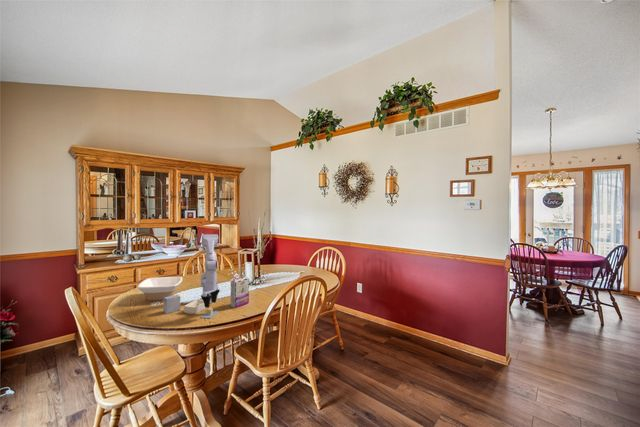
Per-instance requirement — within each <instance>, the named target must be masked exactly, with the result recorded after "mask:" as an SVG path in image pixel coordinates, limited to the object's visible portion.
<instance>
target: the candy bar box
mask: <svg viewBox="0 0 640 427" xmlns="http://www.w3.org/2000/svg"><path fill="white" fill-rule="evenodd" d="M249 289H250V278H249V277H246V276H244V277H240V278H237V279H236V278H235V279H234V280H231V281H230V307H231V308H234V309H237V308H239V307H242V306H244V305H247V304H249V302H250V299H249V298H250V294H249V293H250V290H249Z"/></svg>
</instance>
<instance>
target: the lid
mask: <svg viewBox="0 0 640 427" xmlns="http://www.w3.org/2000/svg"><path fill="white" fill-rule="evenodd" d="M219 312H220V311H219V310H214V308H213V307H209V308H206V312H205V313H203V314H202V315H201V316H200V317H199V318H200V319H207V320H209V319H213V317H215V316H216V315H217V314H218V313H219Z"/></svg>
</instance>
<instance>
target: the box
mask: <svg viewBox="0 0 640 427" xmlns="http://www.w3.org/2000/svg"><path fill="white" fill-rule="evenodd" d="M204 310H207V308H206V307H205V305H204V302H203V300H202V299H198V298H197V299H195V300H192V301H191V302H188V303H187V304H185V305H184V306H183V314H188V315H189V314H190V315H197V314H200V313H202V312H203V311H204Z"/></svg>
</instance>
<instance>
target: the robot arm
mask: <svg viewBox="0 0 640 427" xmlns="http://www.w3.org/2000/svg"><path fill="white" fill-rule="evenodd" d="M218 244H219V235H218V234H217V233H216V234H215V233H214V234H201V247H204V249H205V262H204V270H205V272H203V273H202V274H201V275H200V287H201V288H202V295H201V296H200V298H201V300H203V302H204V305H205V307H206V309H208V308H210V305H211V303H212V304H213V303H216V302H217V300H218V299H219V297H218V296H219V293H220V292H221V290H220V289H219V285H218V275H217V270H218V266H219V264H218V259H217V254H216V251H215V247H217V246H218Z"/></svg>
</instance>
